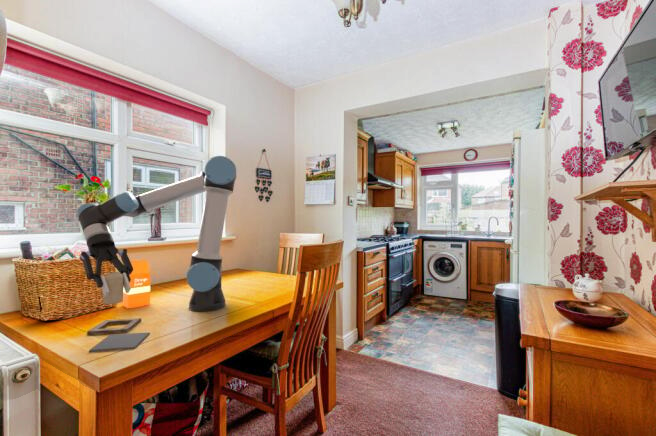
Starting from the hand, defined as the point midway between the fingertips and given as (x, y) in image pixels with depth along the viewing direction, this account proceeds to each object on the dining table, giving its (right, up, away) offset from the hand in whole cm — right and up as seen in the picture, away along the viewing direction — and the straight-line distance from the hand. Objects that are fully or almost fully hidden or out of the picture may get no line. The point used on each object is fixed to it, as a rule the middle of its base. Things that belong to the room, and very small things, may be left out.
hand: (118, 292), depth 99 cm
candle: (-3, -4, +2) cm, 6 cm away
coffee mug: (-38, -15, +20) cm, 46 cm away
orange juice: (-19, -15, +39) cm, 46 cm away
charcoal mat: (+4, -15, -4) cm, 16 cm away
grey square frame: (-7, -15, +9) cm, 19 cm away
